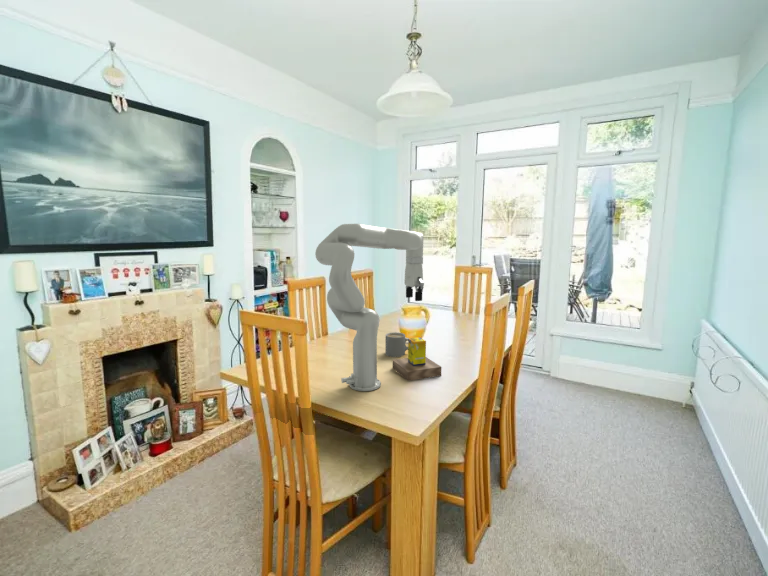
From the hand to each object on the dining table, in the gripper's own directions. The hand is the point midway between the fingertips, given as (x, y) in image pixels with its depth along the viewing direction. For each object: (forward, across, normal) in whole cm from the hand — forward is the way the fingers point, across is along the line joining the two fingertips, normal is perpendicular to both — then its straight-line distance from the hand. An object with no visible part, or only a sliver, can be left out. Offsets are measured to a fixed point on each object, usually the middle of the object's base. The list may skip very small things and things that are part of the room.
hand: (413, 299), depth 170 cm
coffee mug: (+32, -20, +1) cm, 38 cm away
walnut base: (+32, +6, -1) cm, 32 cm away
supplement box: (+28, +6, -1) cm, 29 cm away
